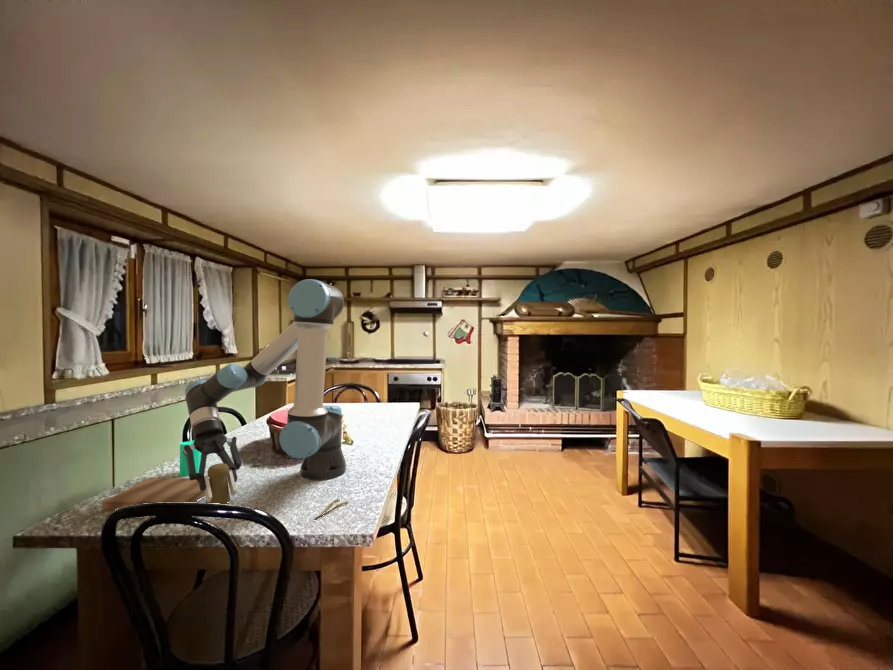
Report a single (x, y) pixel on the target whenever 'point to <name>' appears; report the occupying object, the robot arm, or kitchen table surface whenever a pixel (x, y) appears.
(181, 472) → the candle
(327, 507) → the tongs
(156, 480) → the walnut board
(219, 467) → the cork
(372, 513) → the kitchen table surface
